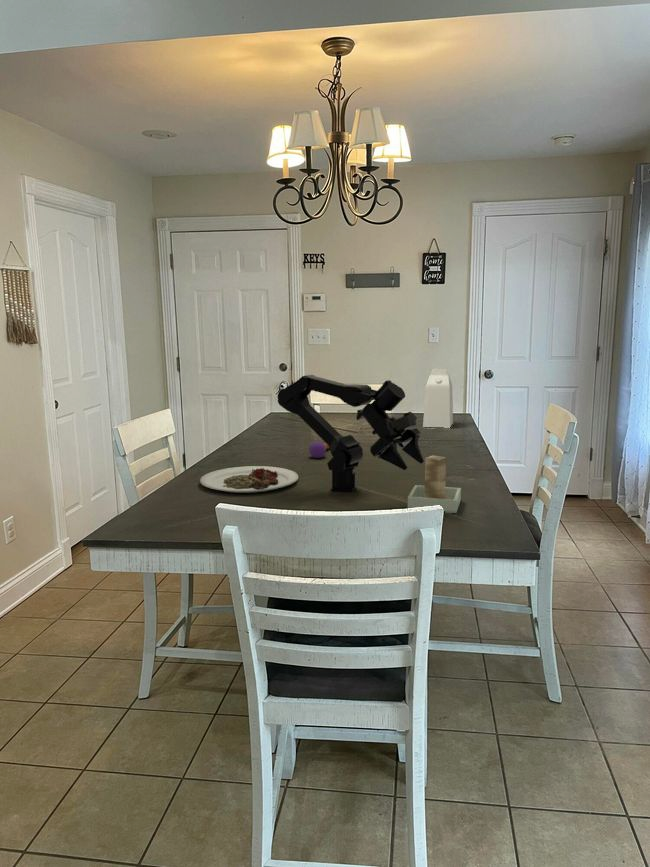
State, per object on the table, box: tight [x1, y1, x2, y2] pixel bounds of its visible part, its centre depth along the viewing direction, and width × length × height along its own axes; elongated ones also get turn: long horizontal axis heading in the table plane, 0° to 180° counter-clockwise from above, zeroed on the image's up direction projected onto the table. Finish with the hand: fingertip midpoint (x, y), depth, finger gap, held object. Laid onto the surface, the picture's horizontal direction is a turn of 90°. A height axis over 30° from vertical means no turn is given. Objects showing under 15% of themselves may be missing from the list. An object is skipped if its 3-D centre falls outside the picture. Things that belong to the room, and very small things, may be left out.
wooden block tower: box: [423, 455, 453, 500], centre depth 174 cm, size 7×7×12 cm
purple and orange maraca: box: [308, 441, 330, 459], centre depth 241 cm, size 6×6×20 cm
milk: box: [422, 368, 454, 429], centre depth 294 cm, size 12×12×26 cm
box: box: [407, 484, 462, 514], centre depth 175 cm, size 13×13×4 cm
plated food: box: [199, 465, 299, 494], centre depth 201 cm, size 30×30×3 cm
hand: (414, 465), depth 177 cm, fingers open, 9 cm apart
